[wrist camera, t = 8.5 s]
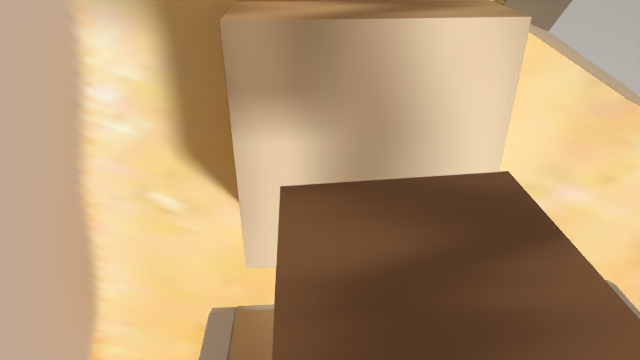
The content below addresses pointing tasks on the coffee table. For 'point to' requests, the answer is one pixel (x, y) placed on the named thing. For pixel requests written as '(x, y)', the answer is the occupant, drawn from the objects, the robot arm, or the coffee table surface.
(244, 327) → the robot arm
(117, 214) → the coffee table surface
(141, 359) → the coffee table surface
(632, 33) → the grey block
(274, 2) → the oak block
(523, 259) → the walnut cube
